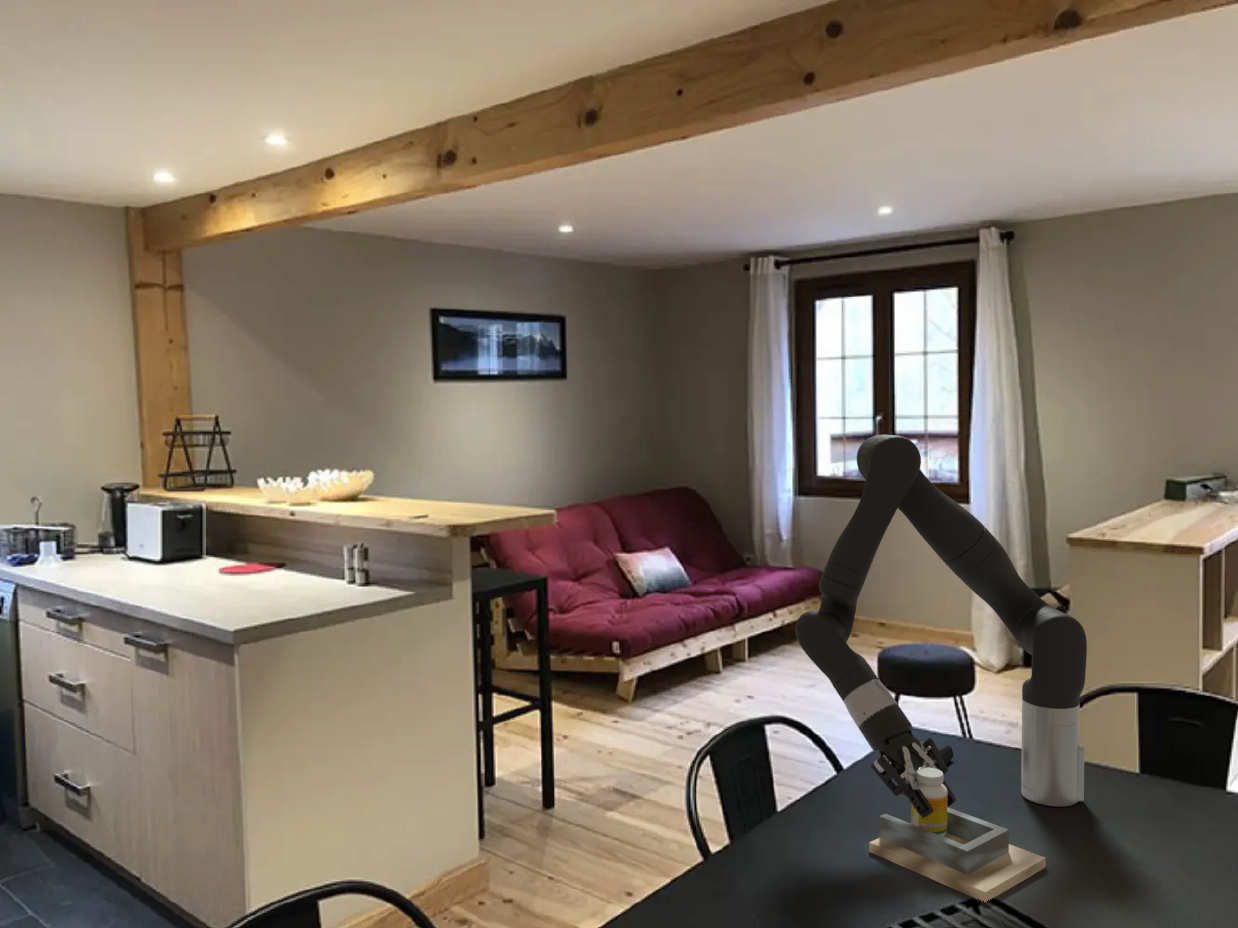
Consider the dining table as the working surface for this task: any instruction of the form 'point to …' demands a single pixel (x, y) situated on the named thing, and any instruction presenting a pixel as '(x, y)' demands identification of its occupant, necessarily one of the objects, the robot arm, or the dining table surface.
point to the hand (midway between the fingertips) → (939, 809)
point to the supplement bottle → (932, 801)
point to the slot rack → (958, 854)
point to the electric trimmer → (943, 756)
